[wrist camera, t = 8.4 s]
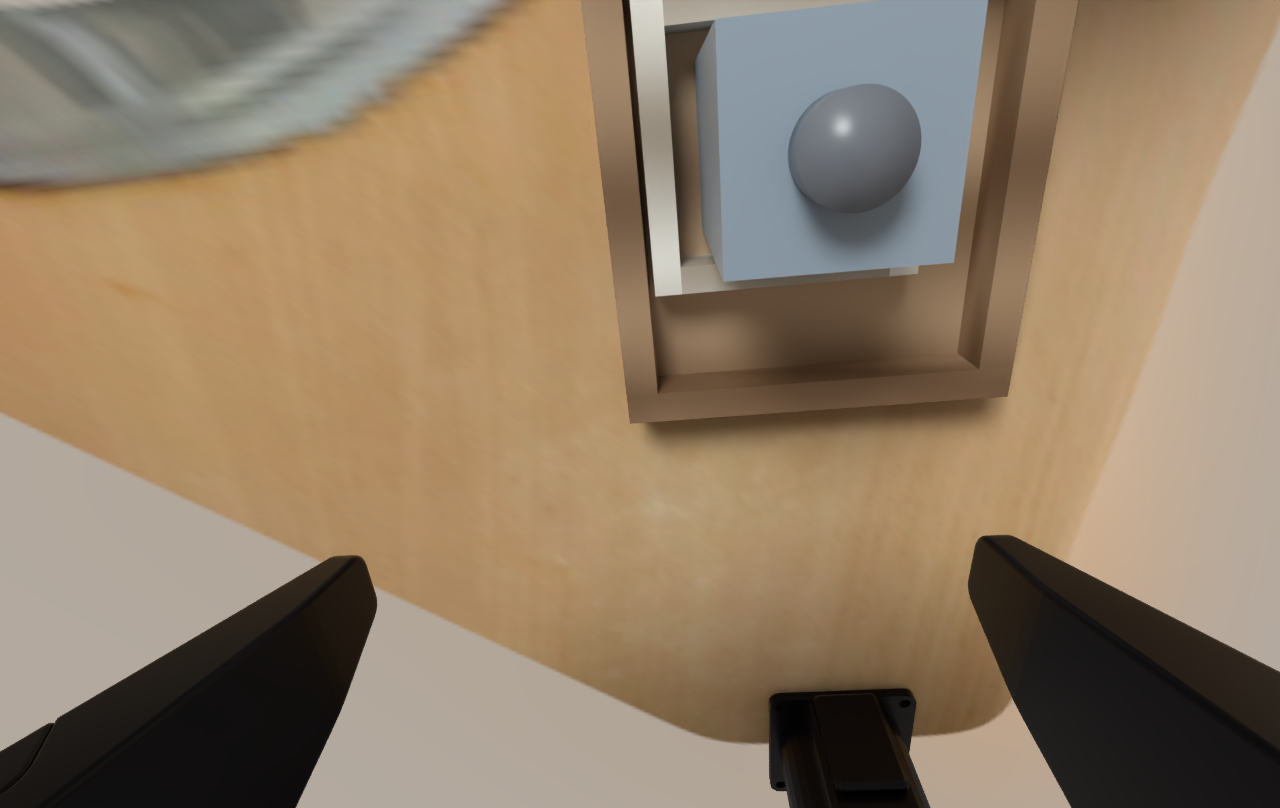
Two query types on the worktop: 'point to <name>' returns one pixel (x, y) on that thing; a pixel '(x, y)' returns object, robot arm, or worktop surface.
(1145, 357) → the worktop surface
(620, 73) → the walnut box
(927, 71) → the block
